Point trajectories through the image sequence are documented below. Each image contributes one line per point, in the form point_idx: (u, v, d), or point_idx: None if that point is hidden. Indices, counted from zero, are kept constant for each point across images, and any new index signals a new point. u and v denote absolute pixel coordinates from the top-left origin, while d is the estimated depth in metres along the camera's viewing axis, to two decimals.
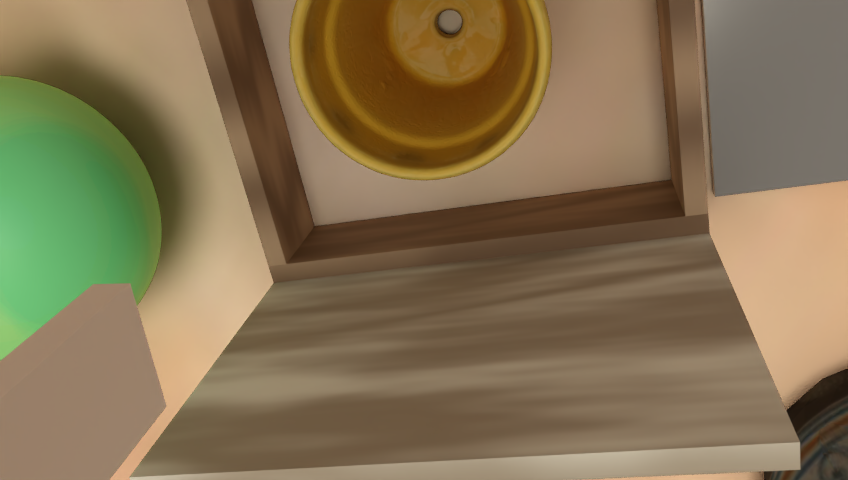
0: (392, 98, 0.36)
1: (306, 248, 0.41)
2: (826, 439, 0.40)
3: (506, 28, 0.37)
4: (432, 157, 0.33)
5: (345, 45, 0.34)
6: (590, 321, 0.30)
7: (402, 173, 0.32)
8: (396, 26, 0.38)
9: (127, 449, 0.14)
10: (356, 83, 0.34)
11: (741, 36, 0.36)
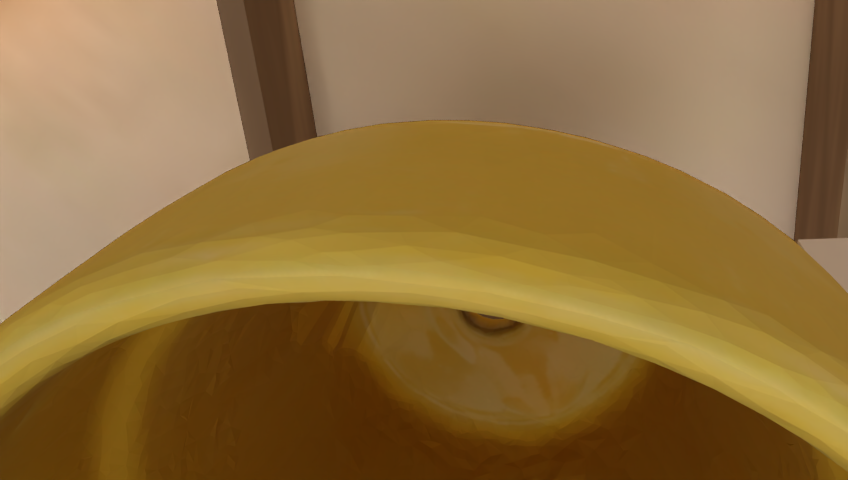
0: None
1: None
2: None
3: None
4: None
5: None
6: None
7: None
8: (488, 414, 0.15)
9: None
10: None
11: None
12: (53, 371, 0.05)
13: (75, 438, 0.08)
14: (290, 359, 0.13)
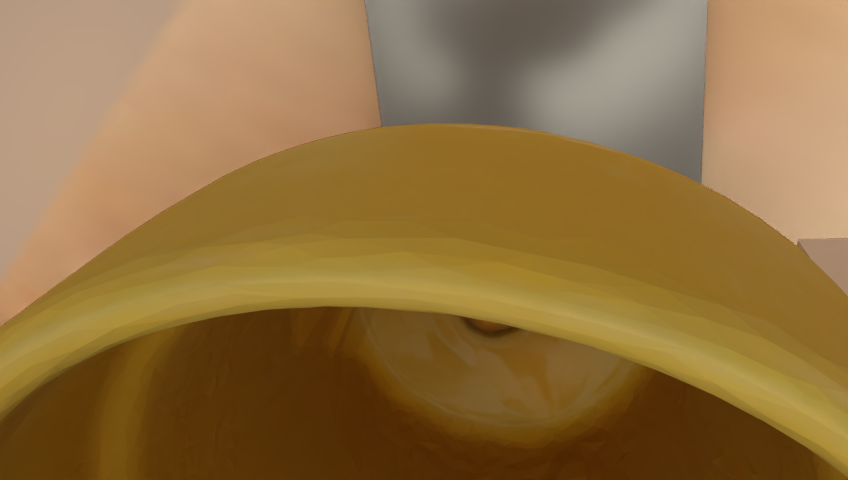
0: None
1: None
2: None
3: None
4: None
5: None
6: None
7: None
8: (488, 416, 0.15)
9: None
10: None
11: None
12: (51, 376, 0.05)
13: (73, 442, 0.08)
14: (290, 361, 0.13)
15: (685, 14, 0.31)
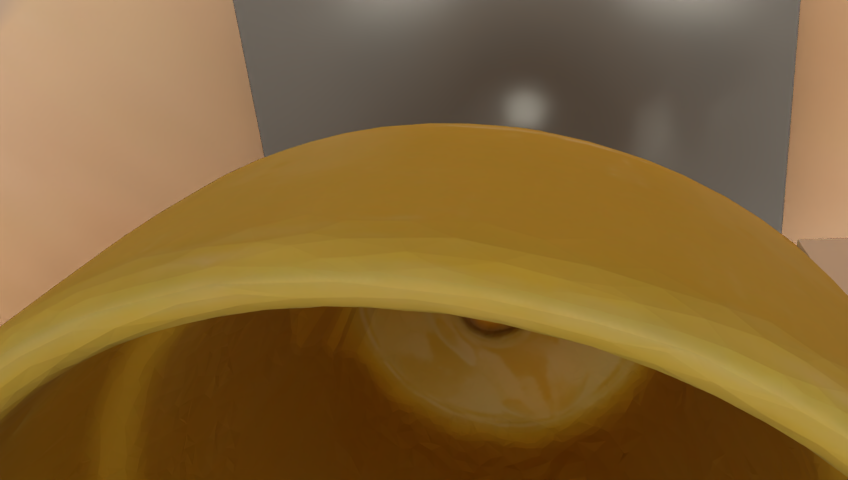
0: None
1: None
2: None
3: None
4: None
5: None
6: None
7: None
8: (488, 416, 0.15)
9: None
10: None
11: None
12: (51, 376, 0.05)
13: (74, 442, 0.08)
14: (290, 361, 0.13)
15: (756, 92, 0.19)
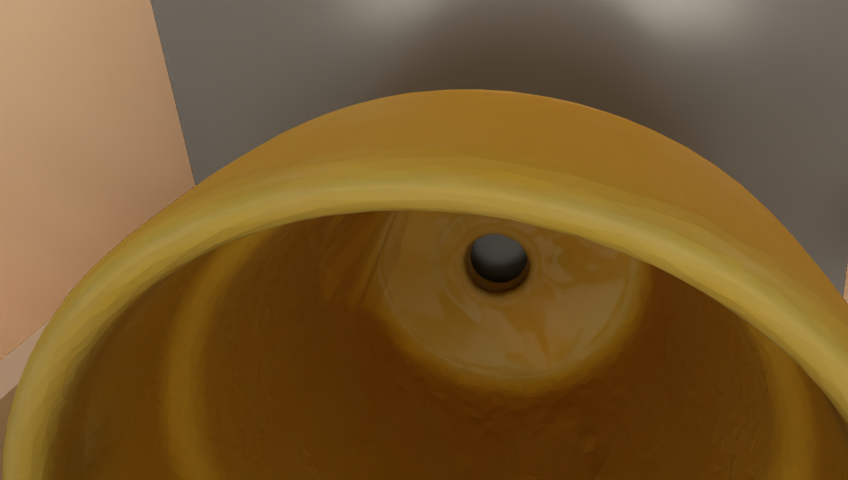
0: None
1: None
2: None
3: None
4: None
5: None
6: None
7: None
8: (492, 369, 0.17)
9: None
10: None
11: None
12: (168, 272, 0.07)
13: (151, 358, 0.10)
14: (318, 313, 0.15)
15: (814, 142, 0.15)
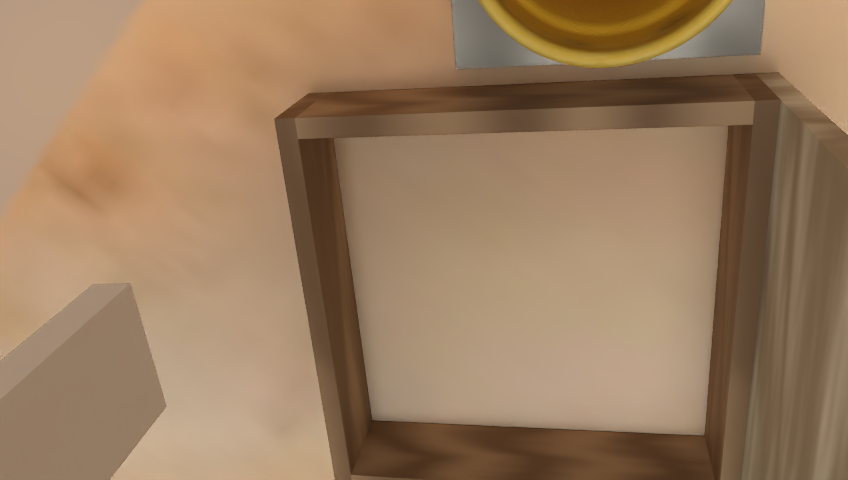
0: None
1: (714, 466, 0.41)
2: None
3: None
4: None
5: (592, 14, 0.30)
6: (811, 306, 0.27)
7: None
8: None
9: (127, 449, 0.14)
10: (637, 9, 0.29)
11: None
12: None
13: None
14: None
15: None
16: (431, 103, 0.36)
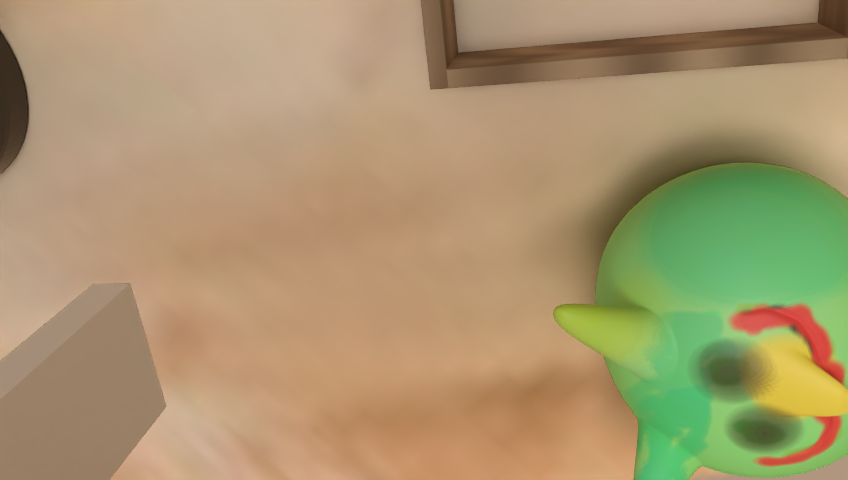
0: None
1: (837, 20, 0.39)
2: None
3: None
4: None
5: None
6: None
7: None
8: None
9: (127, 449, 0.14)
10: None
11: None
12: None
13: None
14: None
15: None
16: None
